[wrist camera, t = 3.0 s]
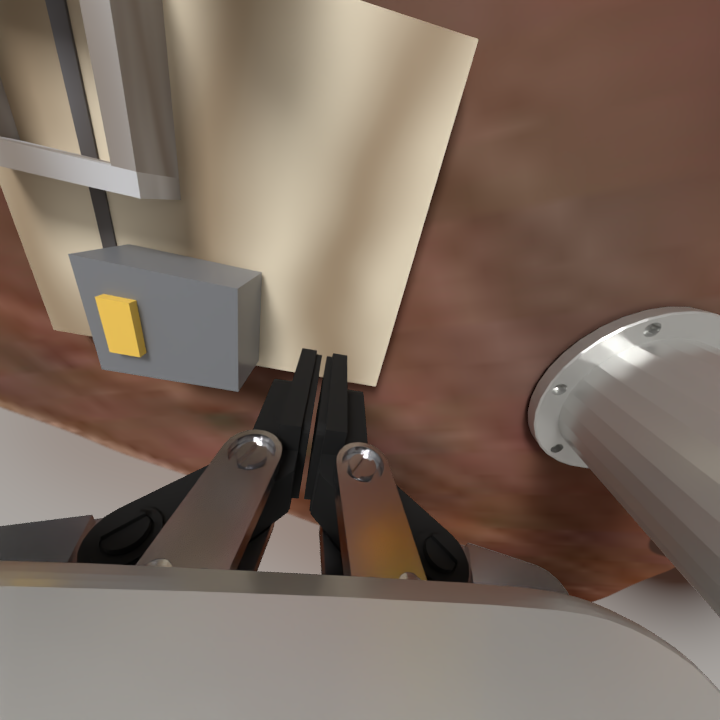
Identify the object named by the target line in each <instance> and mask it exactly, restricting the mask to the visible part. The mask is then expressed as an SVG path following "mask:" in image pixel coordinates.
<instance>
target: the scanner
mask: <svg viewBox="0 0 720 720" xmlns="http://www.w3.org/2000/svg"><path fill="white" fill-rule="evenodd" d="M68 256H69V259H70V263H71V266H72V269H73V273H74V276H75V279H76V283H77V286H78V290H79V293H80V296H81V300H82V303H83V307H84V310H85V313H86V317H87V320H88V323H89V327H90V330H91V334H92V337H93V340H94V344H95V347H96V351H97V354H98V357H99V361H100V364H101V367H102V369H104V370H110V371H116V372H122V373H128V374H134V375H140V376H146V377H152V378H158V379H164V380H170V381H176V382H182V383H188V384H194V385H200V386H206V387H212V388H218V389H225V390H231V391H237V392H239V390H240V388H241V387H242V385H243V384H244V382H245V381H246V379H247V378H248V376H249V375H250V373H251V372H252V370H253V369H254V367H255V366H256V364H257V362H258V361H259V340H260V312H261V285H262V272H258V271H253V270H249V269H244V268H239V267H234V266H230V265H225V264H220V263H216V262H211V261H206V260H202V259H197V258H192V257H187V256H183V255H178V254H173V253H169V252H164V251H159V250H155V249H150V248H145V247H140V246H136V245H131V244H127V245H120V246H114V247H108V248H102V249H96V250H90V251H84V252H77V253H71V254H68Z"/></svg>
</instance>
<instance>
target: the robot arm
mask: <svg viewBox="0 0 720 720" xmlns="http://www.w3.org/2000/svg"><path fill="white" fill-rule="evenodd" d="M321 360H322V355H318V354H317V350H312V349H306V348H302V351H301V354H300V358H299V361H298V364H297V367H296V371H295V374H294V377H293V380H292V381H286V380H280V379H274V381H273V383H272V385H271V387H270V390H269V392H268V395H267V397H266V400H265V402H264V404H263V407H262V409H261V412H260V414H259V416H258V419H257V421H256V424H255V426H254V428H253V430H247V431H244V432H240V433H238V434H236V435H234V436H233V437H231V438H230V439H229V440H228V441H227V442H226V443H225V444H224V445H223V446H222V448H221V449H220V450H219V452H218V453H217V455H216V456H215V457H214V459H213V460H212V461H211V463H210V464H209V465H207V466H205V467H203V468H201V469H199V470H197V471H195V472H193V473H191V474H189V475H187V476H185V477H183V478H181V479H179V480H177V481H174V482H173V483H170V484H168V485H166V486H164V487H162V488H160V489H158V490H156V491H154V492H152V493H150V494H148V495H146V496H144V497H142V498H140V499H137V500H135V501H133V502H131V503H129V504H127V505H125V506H123V507H121V508H119V509H117V510H115V511H114V512H112V513H110V514H109V515H107V516H106V517H104V518H100V519H94V518H93V516H92V515H86V516H79V517H70V518H63V519H54V520H46V521H38V522H30V523H22V524H14V525H6V526H0V720H720V690H719V689H718V688H717V687H716V686H715V685H714V684H713V683H712V682H711V680H710V679H709V678H708V677H707V676H706V675H705V674H703V672H702V671H701V670H700V669H698V667H697V666H696V665H695V664H694V663H693V662H691V661H690V660H689V659H688V658H686V656H684V655H683V654H682V653H681V652H680V651H678V650H677V649H676V648H675V647H673V646H672V645H670V644H669V643H667V642H666V641H664V640H663V639H661V638H660V637H658V636H657V635H655V634H654V633H652V632H651V631H649V630H647V629H646V628H644V627H642V626H640V625H639V624H637V623H635V622H633V621H631V620H629V619H627V618H625V617H623V616H621V615H619V614H617V613H615V612H613V611H611V610H609V609H607V608H604V607H602V606H600V605H597V604H595V603H592V602H589V601H587V600H584V599H581V598H578V597H574V596H570V595H569V594H568V592H567V591H566V589H565V588H564V587H563V586H562V585H561V583H560V582H559V581H558V580H557V579H556V578H555V577H554V576H553V575H552V574H550V573H549V572H548V571H547V570H545V569H543V568H541V567H539V566H537V565H534V564H531V563H528V562H525V561H522V560H519V559H516V558H513V557H510V556H507V555H504V554H501V553H498V552H495V551H492V550H489V549H486V548H483V547H480V546H476V545H473V544H470V543H467V544H466V546H463V545H460V544H459V542H458V541H457V540H456V539H455V538H454V537H453V536H452V535H451V534H450V533H449V532H448V531H447V530H446V529H445V528H443V527H442V526H441V525H440V524H439V523H438V522H437V521H436V520H435V519H433V518H432V517H431V516H430V515H429V514H428V513H427V512H426V511H424V510H423V509H422V508H421V507H420V506H419V505H418V504H417V503H416V502H414V501H413V500H412V499H411V498H410V497H409V496H408V495H407V494H406V493H404V492H403V491H402V490H401V489H400V488H399V487H398V486H397V485H396V484H395V481H394V478H393V475H392V472H391V469H390V465H389V463H388V461H387V459H386V457H385V455H384V454H383V453H382V452H381V451H380V450H379V449H377V448H376V447H374V446H372V445H370V444H368V442H367V431H366V419H365V407H364V395H363V392H360V391H353V390H347V355H341V354H335V353H333V355H332V357H331V356H327V358H326V363H325V369H324V375H323V380H322V386H321V392H320V397H319V403H318V409H317V415H316V421H315V428H314V435H313V442H312V448H311V455H310V462H309V469H308V476H307V483H306V490H305V496H304V499H310V500H311V502H310V510H309V511H311V515H312V516H313V517H314V518H315V520H316V521H317V522H318V523H319V525H320V528H319V539H320V556H321V573H322V575H317V574H298V573H279V572H259V571H257V570H258V568H259V565H260V562H261V559H262V557H263V554H264V552H265V549H266V546H267V544H268V541H269V539H270V536H271V533H272V531H273V527H274V523H275V521H277V520H278V519H279V518H281V517H282V516H283V515H285V514H286V513H287V512H288V510H289V509H290V504H291V499H292V498H299V492H300V486H301V480H302V474H303V468H304V462H305V456H306V450H307V444H308V438H309V432H310V426H311V420H312V414H313V408H314V402H315V396H316V390H317V384H318V378H319V372H320V366H321ZM528 425H529V428H530V431H531V434H532V435H533V437H534V438H535V440H536V441H537V443H538V444H539V446H540V447H541V448H542V449H543V450H544V451H545V453H546V454H548V455H549V456H551V457H552V458H554V459H556V460H557V461H559V462H562V463H565V464H568V465H571V466H578V467H584V468H589V469H590V470H591V471H592V472H593V473H594V474H595V475H596V477H597V478H598V479H599V480H600V481H601V482H602V483H603V485H604V486H605V487H606V488H607V489H608V490H609V491H610V493H611V494H612V495H613V496H614V497H615V498H616V499H617V501H618V502H619V503H620V504H621V505H622V506H623V507H624V509H625V510H626V511H627V512H628V513H629V514H630V515H631V517H632V518H633V519H634V520H635V521H636V522H637V523H638V525H639V526H640V527H641V528H642V529H643V530H644V531H645V533H646V534H647V535H648V536H649V537H650V538H651V539H652V541H653V542H654V543H655V544H656V545H657V546H658V547H659V548H660V550H661V551H662V552H663V553H664V554H665V555H666V557H667V558H668V559H669V560H670V561H671V562H672V563H673V565H674V566H675V567H676V568H677V569H678V570H679V571H680V573H681V574H682V575H683V576H684V577H685V578H686V579H687V581H688V582H689V583H690V584H691V585H692V586H693V587H694V589H695V590H696V591H697V592H698V593H699V594H700V595H701V596H702V598H703V599H704V600H705V601H706V602H707V603H708V605H709V606H710V607H711V608H712V609H713V610H714V611H715V613H717V615H718V616H719V617H720V315H718V314H715V313H711V312H708V311H704V310H700V309H696V308H692V307H663V308H656V309H650V310H645V311H641V312H638V313H635V314H631V315H628V316H625V317H622V318H620V319H618V320H615V321H613V322H611V323H609V324H606V325H604V326H602V327H600V328H598V329H597V330H595V331H594V332H592V333H590V334H589V335H587V336H585V337H584V338H582V339H580V340H579V341H578V342H577V343H575V344H574V345H573V346H572V347H570V348H569V349H568V350H566V351H565V352H564V353H563V354H562V355H561V356H560V357H559V358H558V359H557V360H556V361H555V362H554V363H553V364H552V365H551V366H550V367H549V368H548V370H547V371H546V372H545V374H544V375H543V377H542V378H541V380H540V381H539V382H538V384H537V386H536V388H535V390H534V392H533V395H532V397H531V400H530V404H529V408H528Z"/></svg>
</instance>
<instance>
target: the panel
mask: <svg viewBox="0 0 720 720" xmlns="http://www.w3.org/2000/svg"><path fill="white" fill-rule="evenodd" d="M477 43H478V39H476V38H473V37H470V36H467V35H464V34H461V33H458V32H455V31H452V30H449V29H446V28H443V27H440V26H437V25H434V24H430V23H427V22H424V21H421V20H418V19H415V18H412V17H409V16H406V15H403V14H400V13H397V12H394V11H391V10H388V9H385V8H382V7H379V6H376V5H373V4H370V3H367V2H364V1H360V0H0V185H1V187H2V190H3V193H4V196H5V198H6V201H7V204H8V207H9V209H10V212H11V215H12V217H13V220H14V223H15V226H16V228H17V231H18V234H19V236H20V239H21V242H22V245H23V247H24V250H25V253H26V256H27V258H28V261H29V264H30V266H31V269H32V272H33V275H34V277H35V280H36V283H37V286H38V288H39V291H40V294H41V296H42V299H43V302H44V305H45V307H46V310H47V313H48V315H49V318H50V321H51V324H52V326H53V329H54V330H58V331H64V332H69V333H75V334H81V335H86V336H92V334H91V330H90V327H89V323H88V320H87V317H86V313H85V310H84V307H83V303H82V300H81V296H80V293H79V290H78V286H77V283H76V279H75V276H74V273H73V269H72V266H71V263H70V259H69V256H68V254H71V253H77V252H84V251H90V250H96V249H102V248H108V247H114V246H120V245H127V244H131V245H136V246H140V247H145V248H150V249H155V250H159V251H164V252H169V253H173V254H178V255H183V256H187V257H192V258H197V259H202V260H206V261H211V262H216V263H220V264H225V265H230V266H234V267H239V268H244V269H249V270H253V271H258V272H262V285H261V312H260V340H259V361H258V362H257V364H256V366H262V367H267V368H273V369H279V370H284V371H290V372H295V371H296V367H297V364H298V361H299V358H300V354H301V351H302V348H306V349H312V350H317V354H318V355H322V360H321V366H320V372H319V377H323V375H324V369H325V363H326V358H327V356H331V357H332V355H333V353H335V354H341V355H347V382H352V383H358V384H364V385H369V386H375V387H376V384H377V381H378V377H379V374H380V370H381V367H382V364H383V360H384V357H385V353H386V350H387V347H388V343H389V340H390V337H391V333H392V330H393V326H394V323H395V320H396V316H397V313H398V310H399V306H400V303H401V299H402V296H403V293H404V289H405V286H406V283H407V279H408V276H409V272H410V269H411V266H412V262H413V259H414V256H415V252H416V249H417V245H418V242H419V239H420V235H421V232H422V228H423V225H424V222H425V218H426V215H427V212H428V208H429V205H430V201H431V198H432V195H433V191H434V188H435V185H436V181H437V178H438V174H439V171H440V168H441V164H442V161H443V158H444V154H445V151H446V147H447V144H448V141H449V137H450V134H451V131H452V127H453V124H454V120H455V117H456V114H457V110H458V107H459V103H460V100H461V97H462V93H463V90H464V87H465V83H466V80H467V76H468V73H469V70H470V66H471V63H472V60H473V56H474V53H475V49H476V46H477Z"/></svg>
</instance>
